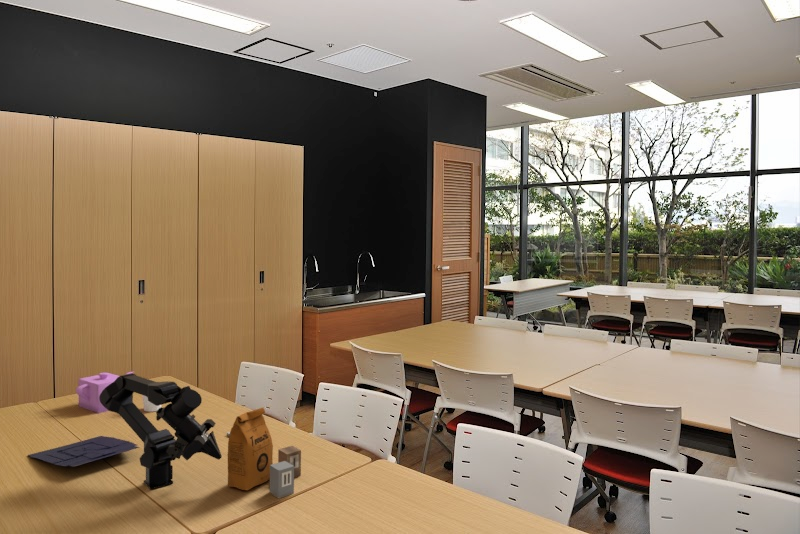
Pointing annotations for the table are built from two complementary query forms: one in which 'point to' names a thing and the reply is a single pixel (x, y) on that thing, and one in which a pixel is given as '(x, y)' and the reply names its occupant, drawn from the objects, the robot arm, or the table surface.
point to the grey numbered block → (281, 479)
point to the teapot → (94, 390)
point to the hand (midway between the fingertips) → (220, 458)
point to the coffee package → (249, 451)
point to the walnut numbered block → (291, 458)
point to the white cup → (149, 405)
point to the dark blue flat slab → (85, 451)
